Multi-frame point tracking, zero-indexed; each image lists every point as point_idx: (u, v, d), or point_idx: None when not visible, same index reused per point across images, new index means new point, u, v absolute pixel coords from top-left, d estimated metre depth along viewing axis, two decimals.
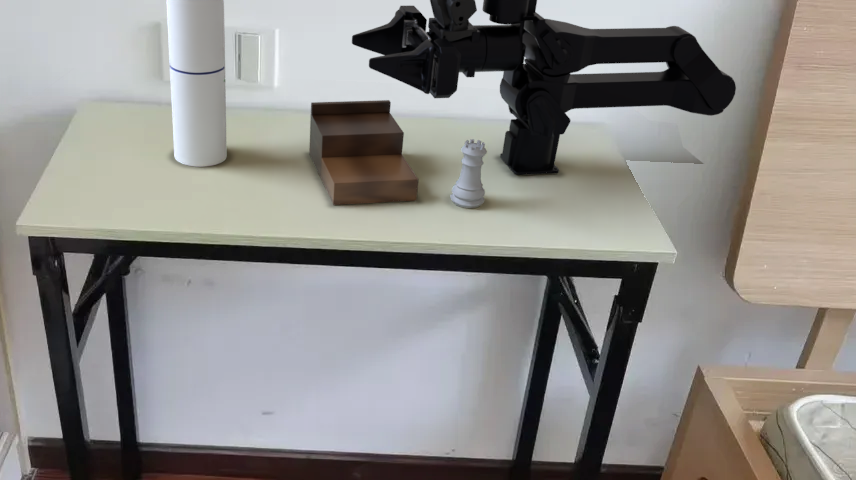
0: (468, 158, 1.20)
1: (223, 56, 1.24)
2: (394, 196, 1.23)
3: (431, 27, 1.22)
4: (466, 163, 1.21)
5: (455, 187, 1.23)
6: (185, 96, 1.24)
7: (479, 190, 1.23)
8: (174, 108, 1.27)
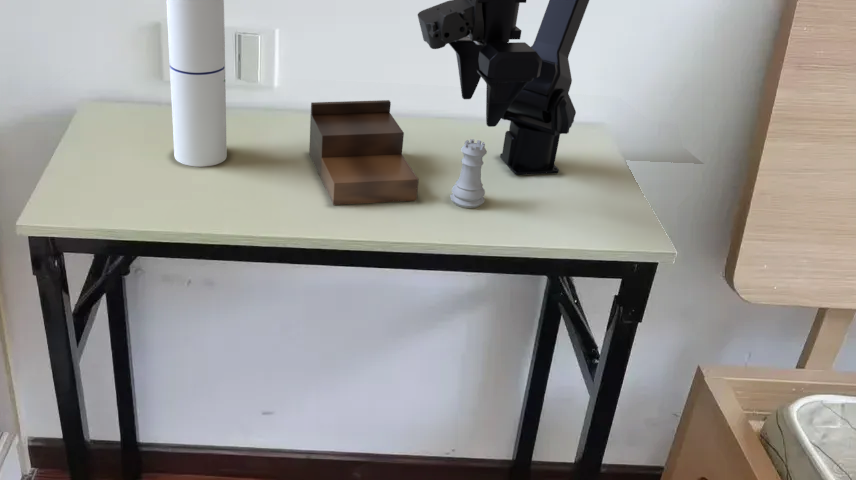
0: (468, 158, 1.20)
1: (223, 56, 1.24)
2: (394, 196, 1.23)
3: None
4: (466, 163, 1.21)
5: (455, 187, 1.23)
6: (185, 96, 1.24)
7: (479, 190, 1.23)
8: (174, 108, 1.27)
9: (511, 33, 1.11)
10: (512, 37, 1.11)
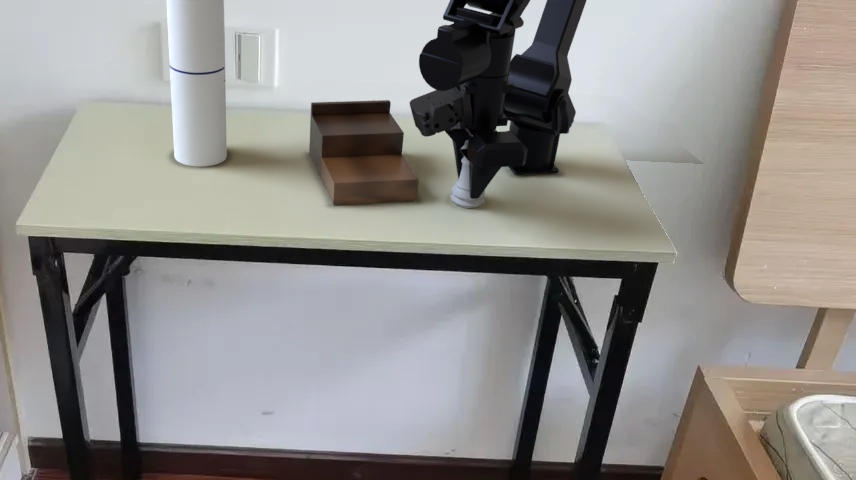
0: None
1: (223, 56, 1.24)
2: (394, 196, 1.23)
3: None
4: (466, 163, 1.21)
5: (455, 187, 1.23)
6: (185, 96, 1.24)
7: None
8: (174, 108, 1.27)
9: (498, 120, 1.16)
10: (499, 124, 1.17)
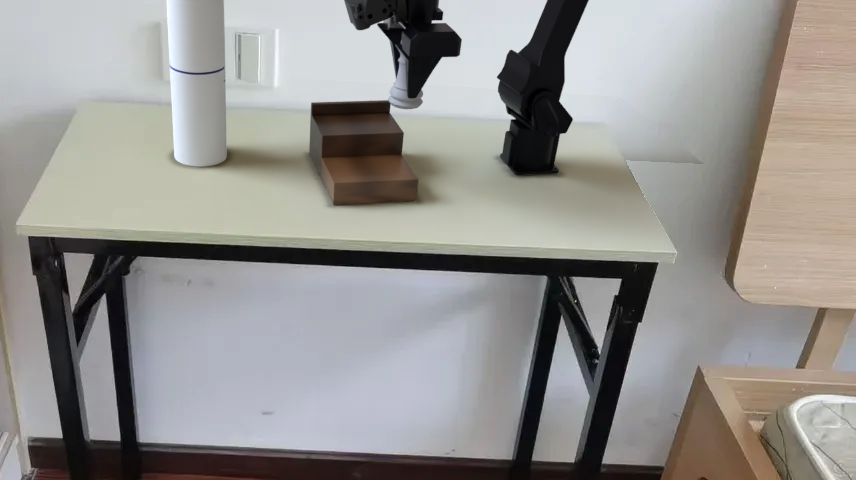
0: (404, 56, 1.19)
1: (223, 56, 1.24)
2: (394, 196, 1.23)
3: None
4: (402, 61, 1.19)
5: (393, 88, 1.22)
6: (185, 96, 1.24)
7: None
8: (174, 108, 1.27)
9: (433, 14, 1.15)
10: (434, 18, 1.15)
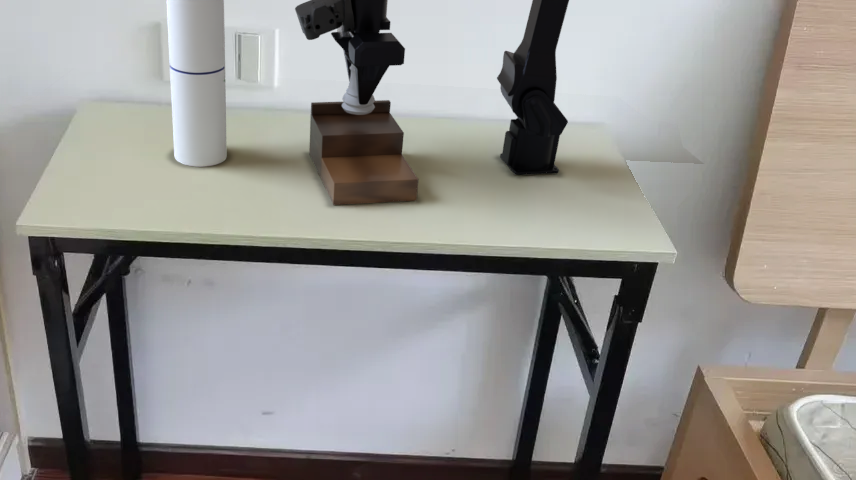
0: None
1: (223, 56, 1.24)
2: (394, 196, 1.23)
3: None
4: (353, 69, 1.24)
5: (345, 94, 1.27)
6: (185, 96, 1.24)
7: None
8: (174, 108, 1.27)
9: (381, 24, 1.20)
10: (382, 28, 1.20)
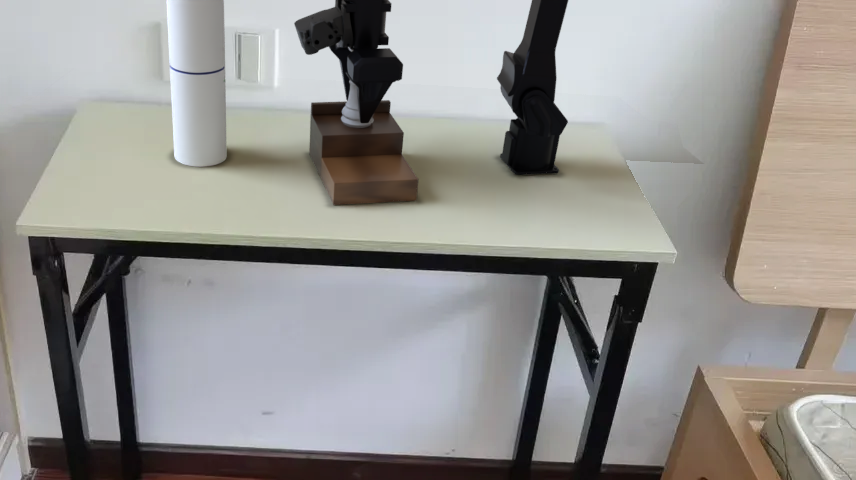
0: None
1: (223, 56, 1.24)
2: (394, 196, 1.23)
3: None
4: (352, 82, 1.25)
5: (344, 108, 1.28)
6: (185, 96, 1.24)
7: None
8: (174, 108, 1.27)
9: (379, 39, 1.21)
10: (380, 43, 1.21)
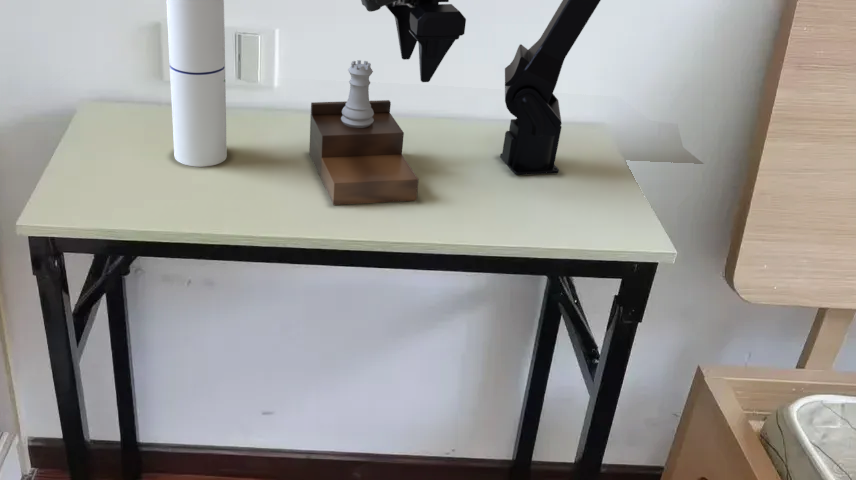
0: (354, 78, 1.25)
1: (223, 56, 1.24)
2: (394, 196, 1.23)
3: None
4: (352, 82, 1.25)
5: (344, 108, 1.28)
6: (185, 96, 1.24)
7: (367, 110, 1.27)
8: (174, 108, 1.27)
9: None
10: (441, 0, 1.23)
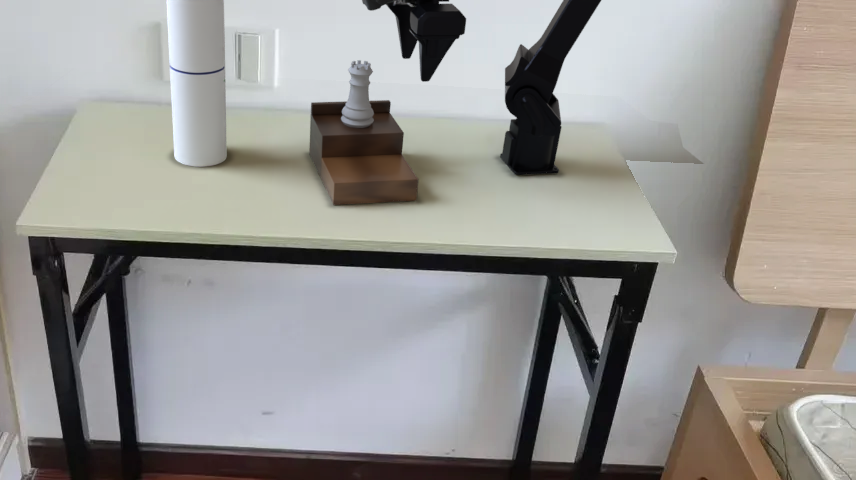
0: (354, 78, 1.25)
1: (223, 56, 1.24)
2: (394, 196, 1.23)
3: None
4: (352, 82, 1.25)
5: (344, 108, 1.28)
6: (185, 96, 1.24)
7: (367, 110, 1.27)
8: (174, 108, 1.27)
9: None
10: None
